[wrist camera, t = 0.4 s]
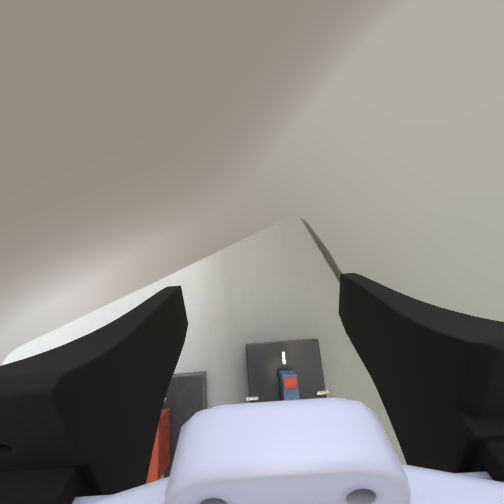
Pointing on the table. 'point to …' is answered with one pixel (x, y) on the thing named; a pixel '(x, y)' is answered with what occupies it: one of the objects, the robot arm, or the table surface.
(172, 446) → the hot tap panel
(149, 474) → the block
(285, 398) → the cold tap
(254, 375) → the panel
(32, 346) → the table surface
